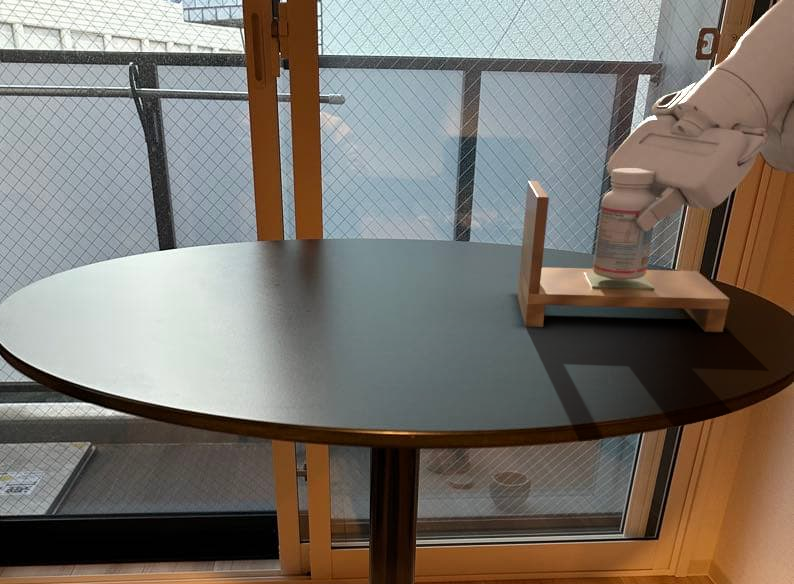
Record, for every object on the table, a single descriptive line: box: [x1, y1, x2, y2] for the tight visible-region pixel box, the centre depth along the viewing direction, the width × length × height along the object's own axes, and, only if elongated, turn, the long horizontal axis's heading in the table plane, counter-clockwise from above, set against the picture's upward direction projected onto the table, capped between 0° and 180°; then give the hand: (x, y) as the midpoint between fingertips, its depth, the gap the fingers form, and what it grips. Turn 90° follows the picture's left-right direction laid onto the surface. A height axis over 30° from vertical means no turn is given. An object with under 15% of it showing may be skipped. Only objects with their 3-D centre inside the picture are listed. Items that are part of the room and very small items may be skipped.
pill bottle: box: [592, 168, 658, 280], centre depth 92 cm, size 6×6×11 cm
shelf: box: [517, 180, 731, 333], centre depth 93 cm, size 22×14×14 cm, turn 86°
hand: (621, 220), depth 91 cm, fingers closed on pill bottle, 6 cm apart
